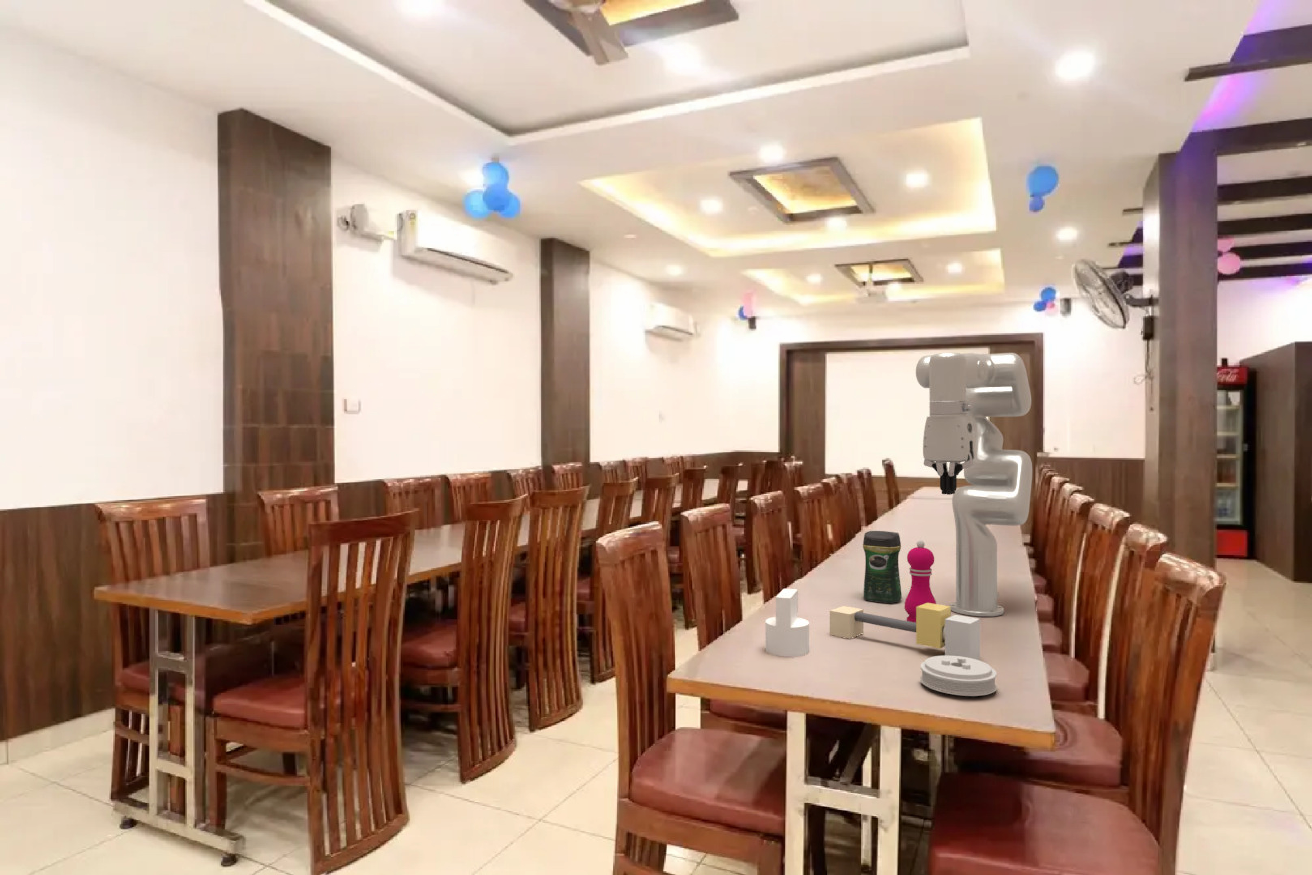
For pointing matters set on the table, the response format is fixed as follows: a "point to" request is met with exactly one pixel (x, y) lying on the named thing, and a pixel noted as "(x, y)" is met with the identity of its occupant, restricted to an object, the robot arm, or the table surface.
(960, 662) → the lid
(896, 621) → the slider rail
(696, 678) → the table surface
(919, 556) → the pepper mill
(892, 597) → the coffee jar
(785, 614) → the base with upright slab
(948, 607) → the pale yellow upright block
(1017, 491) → the robot arm
